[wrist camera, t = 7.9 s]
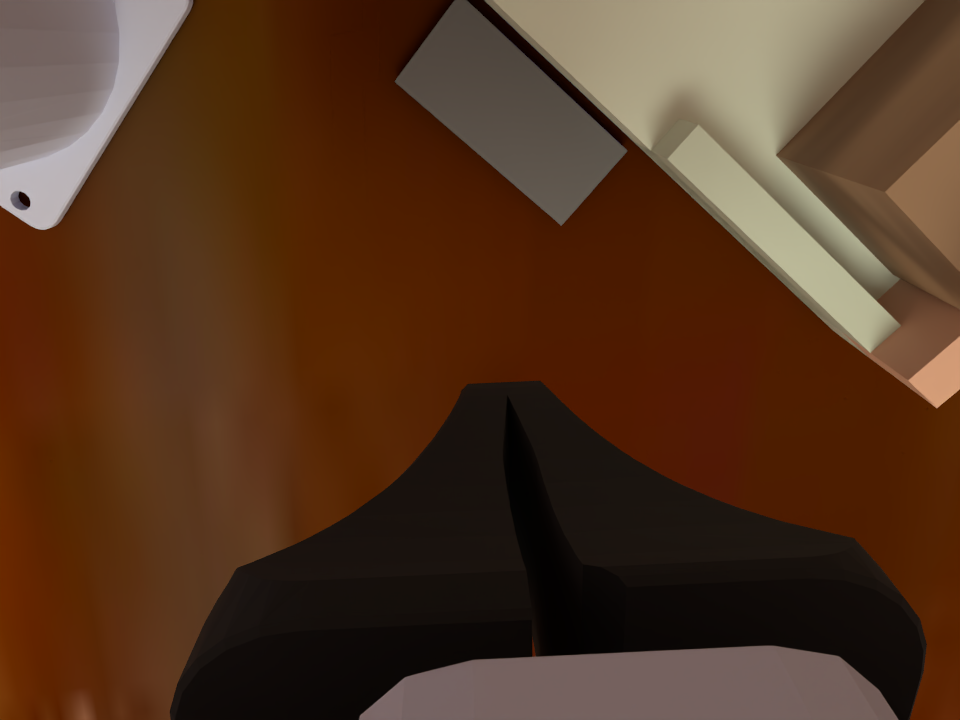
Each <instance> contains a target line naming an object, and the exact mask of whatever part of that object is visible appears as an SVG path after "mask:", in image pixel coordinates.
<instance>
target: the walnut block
mask: <svg viewBox="0 0 960 720" xmlns="http://www.w3.org/2000/svg"><path fill="white" fill-rule="evenodd" d="M776 156H777V157H778V158H779V159H780V160H781V161H782V162H783V163H784V164H785V165H786V166H787V167H788V168H789V169H790V170H791V171H792V172H793V173H794V174H795V175H796V176H797V177H798V178H799V179H800V180H801V181H802V183H803V184H804V185H805V186H806V187H807V188H808V189H809V190H810V191H811V192H812V193H813V194H814V195H815V196H816V197H817V198H818V199H819V200H820V201H821V202H822V203H823V204H824V205H825V206H826V207H827V208H828V209H829V210H830V211H831V212H832V213H833V214H834V215H835V216H836V217H837V218H838V219H839V220H840V221H841V222H842V223H843V224H844V225H845V226H846V227H847V228H848V229H849V230H850V231H851V232H852V233H853V234H854V235H855V236H856V237H857V238H858V240H859V241H860V242H861V243H862V244H863V245H864V246H865V247H866V248H867V249H868V250H869V251H870V252H871V253H872V254H873V255H874V256H875V257H876V258H877V259H878V260H879V261H880V262H881V263H882V264H883V265H884V266H885V267H886V268H887V269H888V270H889V271H890V272H891V273H892V274H893V275H894V276H896V277H898V278H900V279H902V280H904V281H906V282H908V283H910V284H911V285H913V286H915V287H917V288H919V289H921V290H923V291H925V292H927V293H929V294H931V295H933V296H935V297H937V298H938V299H940V300H942V301H944V302H946V303H948V304H950V305H952V306H954V307H956V308H958V309H960V0H925V1H924V2H923V3H922V4H921V5H920V6H919V7H918V8H917V9H916V10H915V11H914V12H913V13H912V15H911V16H910V17H909V18H908V19H907V20H906V21H905V22H904V23H903V24H902V25H901V26H900V27H899V28H898V29H897V30H896V31H895V32H894V33H893V34H892V35H891V36H890V37H889V38H888V39H887V41H886V42H885V43H884V44H883V45H882V46H881V47H880V48H879V49H878V50H877V51H876V52H875V53H874V54H873V55H872V56H871V57H870V58H869V59H868V60H867V61H866V62H865V63H864V64H863V65H862V67H861V68H860V69H859V70H858V71H857V72H856V73H855V74H854V75H853V76H852V77H851V78H850V79H849V80H848V81H847V82H846V83H845V84H844V85H843V86H842V87H841V88H840V89H839V90H838V91H837V92H836V94H835V95H834V96H833V97H832V98H831V99H830V100H829V101H828V102H827V103H826V104H825V105H824V106H823V107H822V108H821V109H820V110H819V111H818V112H817V113H816V114H815V115H814V116H813V117H812V118H811V120H810V121H809V122H808V123H807V124H806V125H805V126H804V127H803V128H802V129H801V130H800V131H799V132H798V133H797V134H796V135H795V136H794V137H793V138H792V139H791V140H790V141H789V142H788V143H787V144H786V146H785V147H784V148H783V149H782V150H781V151H780V152H779V153H778V154H777V155H776Z"/></svg>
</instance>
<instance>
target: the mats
mask: <svg viewBox="0 0 960 720" xmlns="http://www.w3.org/2000/svg"><path fill="white" fill-rule="evenodd" d="M395 83H397V84H398V85H399V86H400V87H401V88H402V89H404V90H405V91H406V92H407V93H408V94H409V95H411V96H412V97H413V98H414V99H415V100H416V101H418V102H419V103H420V104H421V105H422V106H423V107H424V108H426V109H427V110H428V111H429V112H430V113H431V114H433V115H434V116H435V117H436V118H437V119H438V120H440V121H441V122H442V123H443V124H444V125H445V126H446V127H448V128H449V129H450V130H451V131H452V132H453V133H455V134H456V135H457V136H458V137H459V138H460V139H462V140H463V141H464V142H465V143H466V144H467V145H469V146H470V147H471V148H472V149H473V150H474V151H475V152H477V153H478V154H479V155H480V156H481V157H482V158H484V159H485V160H486V161H487V162H488V163H489V164H491V165H492V166H493V167H494V168H495V169H496V170H498V171H499V172H500V173H501V174H502V175H503V176H504V177H506V178H507V179H508V180H509V181H510V182H511V183H513V184H514V185H515V186H516V187H517V188H518V189H520V190H521V191H522V192H523V193H524V194H525V195H526V196H528V197H529V198H530V199H531V200H532V201H533V202H535V203H536V204H537V205H538V206H539V207H540V208H542V209H543V210H544V211H545V212H546V213H547V214H549V215H550V216H551V217H552V218H553V219H554V220H555V221H557V222H558V223H559V224H560V225H561V226H562V224H563V223H564V222H565V221H566V220H567V219H568V218H569V216H570V215H571V214H572V213H573V212H574V211H575V210H576V209H577V207H578V206H579V205H580V204H581V203H582V202H583V201H584V200H585V198H586V197H587V196H588V195H589V194H590V193H591V192H592V190H593V189H594V188H595V187H596V186H597V185H598V184H599V183H600V181H601V180H602V179H603V178H604V177H605V176H606V175H607V174H608V172H609V171H610V170H611V169H612V168H613V167H614V166H615V165H616V163H617V162H618V161H619V160H620V159H621V158H622V157H623V155H624V154H625V153H626V152H627V150H626V149H625V148H624V147H623V146H622V145H621V144H620V143H618V142H617V141H616V140H615V139H614V138H613V137H612V136H611V135H610V134H609V133H608V132H607V131H606V130H605V129H604V128H602V127H601V126H600V125H599V124H598V123H597V122H596V121H595V120H594V119H593V118H592V117H591V116H590V115H589V114H588V113H586V112H585V111H584V110H583V109H582V108H581V107H580V106H579V105H578V104H577V103H576V102H575V101H574V100H573V99H572V98H570V97H569V96H568V95H567V94H566V93H565V92H564V91H563V90H562V89H561V88H560V87H559V86H558V85H557V84H556V83H554V82H553V81H552V80H551V79H550V78H549V77H548V76H547V75H546V74H545V73H544V72H543V71H542V70H541V69H540V68H538V67H537V66H536V65H535V64H534V63H533V62H532V61H531V60H530V59H529V58H528V57H527V56H526V55H525V54H524V53H522V52H521V51H520V50H519V49H518V48H517V47H516V46H515V45H514V44H513V43H512V42H511V41H510V40H509V39H508V38H506V37H505V36H504V35H503V34H502V33H501V32H500V31H499V30H498V29H497V28H496V27H495V26H494V25H493V24H492V23H490V22H489V21H488V20H487V19H486V18H485V17H484V16H483V15H482V14H481V13H480V12H479V11H478V10H477V9H475V8H474V7H473V6H472V5H471V4H470V3H469V2H468V1H467V0H454V2H453V3H452V4H451V6H450V7H449V8H448V10H447V11H446V13H445V14H444V15H443V17H442V18H441V19H440V21H439V22H438V23H437V25H436V26H435V27H434V29H433V30H432V31H431V33H430V34H429V36H428V37H427V38H426V40H425V41H424V42H423V44H422V45H421V46H420V48H419V49H418V50H417V52H416V53H415V54H414V56H413V57H412V59H411V60H410V61H409V63H408V64H407V65H406V67H405V68H404V69H403V71H402V72H401V73H400V75H399V76H398V77H397V79H396V80H395Z"/></svg>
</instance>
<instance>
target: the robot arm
mask: <svg viewBox="0 0 960 720" xmlns="http://www.w3.org/2000/svg"><path fill="white" fill-rule="evenodd" d="M192 5H193V0H0V206H2V207H3V208H5V209H6V210H8V211H9V212H10V213H12V214H13V215H15V216H16V217H18V218H19V219H21V220H22V221H24V222H25V223H27V224H28V225H30V226H32V227H34V228H36V229H42V230H45V229H48V228H51V227H54V226H56V225H57V224H58V223H59V222H60V221H61V220H62V218H63V217H64V215H65V213H66V212H67V210H68V209H69V207H70V205H71V204H72V202H73V200H74V199H75V197H76V196H77V194H78V192H79V191H80V189H81V187H82V186H83V184H84V183H85V181H86V179H87V178H88V176H89V174H90V173H91V171H92V170H93V168H94V166H95V165H96V163H97V161H98V160H99V158H100V157H101V155H102V153H103V152H104V150H105V148H106V147H107V145H108V144H109V142H110V140H111V139H112V137H113V135H114V134H115V132H116V131H117V129H118V127H119V126H120V124H121V123H122V121H123V119H124V118H125V116H126V114H127V113H128V111H129V110H130V108H131V106H132V105H133V103H134V101H135V100H136V98H137V97H138V95H139V93H140V92H141V90H142V88H143V87H144V85H145V84H146V82H147V80H148V79H149V77H150V75H151V74H152V72H153V71H154V69H155V67H156V66H157V64H158V62H159V61H160V59H161V58H162V56H163V54H164V53H165V51H166V49H167V48H168V46H169V45H170V43H171V41H172V40H173V38H174V36H175V35H176V33H177V32H178V30H179V28H180V27H181V25H182V23H183V22H184V20H185V19H186V17H187V15H188V14H189V12H190V10H191V8H192ZM20 191H21V192H23V193H25V194H26V195H27V196H28V197H29V199H30V202H31V204H30V207H27V206H24V205H23V204H22V203H21V202H20V200H19V197H18V195H19V192H20ZM532 637H533V642H534V647H535V653H536V657H532ZM926 645H927V644H926V640H925V637H924V633H923V629H922V625H921V621H920V618H919V617H918V616H917V614H916V613H915V612H914V610H913V609H912V608H911V606H910V605H909V604H908V602H907V601H906V600H905V598H904V597H903V596H902V595H901V593H900V592H899V591H898V589H897V588H896V587H895V586H894V584H893V583H892V582H891V580H890V579H889V578H888V577H887V575H886V574H885V573H884V571H883V570H882V569H881V568H880V567H879V565H878V564H877V563H876V562H875V561H874V560H873V559H872V558H871V556H870V555H869V554H868V553H867V552H866V551H865V550H864V548H863V547H862V546H861V545H860V544H859V543H858V542H857V541H856V540H855V539H854V538H850V537H846V536H842V535H837V534H833V533H829V532H825V531H820V530H816V529H812V528H807V527H803V526H799V525H795V524H790V523H786V522H782V521H779V520H775V519H772V518H769V517H766V516H762V515H759V514H756V513H753V512H750V511H747V510H744V509H740V508H737V507H735V506H732V505H729V504H727V503H724V502H721V501H719V500H716V499H713V498H711V497H709V496H706V495H704V494H702V493H699V492H697V491H695V490H692V489H690V488H688V487H686V486H683V485H681V484H679V483H677V482H675V481H673V480H671V479H669V478H667V477H665V476H663V475H661V474H659V473H658V472H656V471H654V470H652V469H651V468H649V467H647V466H645V465H644V464H642V463H640V462H638V461H636V460H635V459H633V458H632V457H630V456H629V455H627V454H625V453H624V452H622V451H621V450H620V449H618V448H617V447H615V446H614V445H613V444H611V443H610V442H609V441H607V440H606V439H604V438H603V437H602V436H600V435H599V434H598V433H596V432H595V431H594V430H593V429H591V428H590V427H589V426H588V425H587V424H585V423H584V422H583V421H582V420H581V419H580V418H578V417H577V416H576V415H575V414H574V413H573V412H572V411H571V410H570V409H569V408H568V407H567V406H565V405H564V404H563V403H562V402H561V401H560V400H559V399H558V398H557V397H556V396H555V395H554V394H553V393H552V392H551V391H550V390H549V389H548V388H547V387H546V386H545V385H544V384H543V383H542V382H541V381H525V382H503V383H480V384H468V385H467V386H466V387H465V388H464V389H463V390H462V391H461V394H460V396H459V399H458V401H457V403H456V404H455V406H454V408H453V410H452V411H451V413H450V415H449V416H448V418H447V419H446V421H445V422H444V424H443V425H442V427H441V428H440V430H439V431H438V433H437V434H436V436H435V437H434V438H433V440H432V441H431V442H430V443H429V444H428V446H427V447H426V448H425V449H424V450H423V452H422V453H421V454H420V455H419V456H418V458H417V459H416V460H415V461H414V462H413V463H412V465H411V466H410V467H409V468H408V469H407V470H406V471H405V472H404V473H403V474H402V475H401V476H400V477H399V478H398V479H397V480H396V481H394V482H393V483H392V484H391V485H390V486H389V487H388V488H386V489H385V490H384V491H382V492H381V493H380V494H378V495H377V496H376V497H374V498H373V499H371V500H370V501H369V502H367V503H366V504H364V505H363V506H362V507H360V508H359V509H357V510H356V511H355V512H353V513H352V514H350V515H349V516H347V517H345V518H344V519H342V520H340V521H339V522H337V523H335V524H333V525H332V526H330V527H328V528H326V529H325V530H323V531H321V532H319V533H317V534H315V535H313V536H311V537H309V538H307V539H305V540H303V541H301V542H299V543H297V544H295V545H293V546H290V547H288V548H285V549H283V550H281V551H278V552H276V553H273V554H271V555H269V556H266V557H264V558H261V559H259V560H257V561H254V562H252V563H249V564H246V565H244V566H241V567H238V568H237V569H236V570H235V572H234V574H233V576H232V577H231V579H230V581H229V583H228V584H227V586H226V588H225V589H224V591H223V592H222V594H221V595H220V597H219V598H218V600H217V602H216V603H215V605H214V607H213V609H212V611H211V612H210V614H209V616H208V618H207V620H206V622H205V623H204V626H203V628H202V630H201V632H200V634H199V637H198V639H197V641H196V643H195V646H194V648H193V650H192V652H191V655H190V657H189V659H188V661H187V664H186V666H185V668H184V670H183V673H182V675H181V677H180V679H179V682H178V684H177V687H176V691H175V695H174V698H173V702H172V705H171V709H170V717H171V720H909V719H910V716H911V713H912V709H913V706H914V702H915V699H916V695H917V692H918V689H919V685H920V682H921V678H922V675H923V671H924V663H925V654H926Z"/></svg>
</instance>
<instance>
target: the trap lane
mask: <svg viewBox="0 0 960 720" xmlns="http://www.w3.org/2000/svg"><path fill="white" fill-rule="evenodd" d="M484 1H485V2H486V3H487V4H488V5H489V6H490V7H492V8H493V9H494V10H495V11H496V12H497V13H498V14H499V15H500V16H501V17H502V18H503V19H504V20H505V21H506V22H507V23H508V24H509V25H511V26H512V27H513V28H514V29H515V30H516V31H517V32H518V33H519V34H520V35H521V36H522V37H523V38H524V39H525V40H526V41H527V42H529V43H530V44H531V45H532V46H533V47H534V48H535V49H536V50H537V51H538V52H539V53H540V54H541V55H542V56H543V57H544V58H545V59H547V60H548V61H549V62H550V63H551V64H552V65H553V66H554V67H555V68H556V69H557V70H558V71H559V72H560V73H561V74H562V75H563V76H564V77H566V78H567V79H568V80H569V81H570V82H571V83H572V84H573V85H574V86H575V87H576V88H577V89H578V90H579V91H580V92H581V93H582V94H584V95H585V96H586V97H587V98H588V99H589V100H590V101H591V102H592V103H593V104H594V105H595V106H596V107H597V108H598V109H599V110H600V111H602V112H603V113H604V114H605V115H606V116H607V117H608V118H609V119H610V120H611V121H612V122H613V123H614V124H615V125H616V126H617V127H618V128H619V129H621V130H622V131H623V132H624V133H625V134H626V135H627V136H628V137H629V138H630V139H631V140H632V141H633V142H634V143H635V144H636V145H637V146H639V147H640V148H641V149H642V150H643V151H644V152H645V153H646V154H647V155H648V156H649V157H650V158H651V159H652V160H653V161H654V162H655V163H657V164H658V165H659V166H660V167H661V168H662V169H663V170H664V171H665V172H666V173H667V174H668V175H669V176H670V177H671V178H672V179H673V180H674V181H676V182H677V183H678V184H679V185H680V186H681V187H682V188H683V189H684V190H685V191H686V192H687V193H688V194H689V195H690V196H691V197H692V198H694V199H695V200H696V201H697V202H698V203H699V204H700V205H701V206H702V207H703V208H704V209H705V210H706V211H707V212H708V213H709V214H710V215H712V216H713V217H714V218H715V219H716V220H717V221H718V222H719V223H720V224H721V225H722V226H723V227H724V228H725V229H726V230H727V231H728V232H729V233H731V234H732V235H733V236H734V237H735V238H736V239H737V240H738V241H739V242H740V243H741V244H742V245H743V246H744V247H745V248H746V249H747V250H749V251H750V252H751V253H752V254H753V255H754V256H755V257H756V258H757V259H758V260H759V261H760V262H761V263H762V264H763V265H764V266H765V267H767V268H768V269H769V270H770V271H771V272H772V273H773V274H774V275H775V276H776V277H777V278H778V279H779V280H780V281H781V282H782V283H783V284H784V285H786V286H787V287H788V288H789V289H790V290H791V291H792V292H793V293H794V294H795V295H796V296H797V297H798V298H799V299H800V300H801V301H802V302H804V303H805V304H806V305H807V306H808V307H809V308H810V309H811V310H812V311H813V312H814V313H815V314H816V315H817V316H818V317H819V318H820V319H822V320H823V321H824V322H825V323H826V324H827V325H828V326H829V327H830V328H831V329H832V330H833V331H834V332H836V333H837V334H838V335H840V336H841V337H842V338H844V339H845V340H846V341H848V342H849V343H850V344H852V345H853V346H854V347H856V348H857V349H858V350H860V351H861V352H862V353H864V354H865V355H866V356H868V357H869V358H870V359H872V360H873V361H874V362H876V363H877V364H878V365H880V366H881V367H882V368H884V369H885V370H886V371H888V372H889V373H890V374H892V375H893V376H894V377H896V378H897V379H898V380H900V381H901V382H902V383H904V384H905V385H907V386H908V387H909V388H911V389H912V390H913V391H915V392H916V393H917V394H919V395H920V396H921V397H923V398H924V399H925V400H927V401H928V402H929V403H931V404H932V405H933V406H935V407H936V408H938V407H939V406H940V405H941V404H942V403H944V402H945V401H946V400H947V399H948V398H950V397H951V396H952V395H953V394H954V393H956V392H957V391H958V390H959V389H960V309H958V308H956V307H954V306H952V305H950V304H948V303H946V302H944V301H942V300H940V299H938V298H937V297H935V296H933V295H931V294H929V293H927V292H925V291H923V290H921V289H919V288H917V287H915V286H913V285H911V284H910V283H908V282H906V281H904V280H902V279H900V278H898V277H896V276H894V275H893V274H892V273H891V272H890V271H889V270H888V269H887V268H886V267H885V266H884V265H883V264H882V263H881V262H880V261H879V260H878V259H877V258H876V257H875V256H874V255H873V254H872V253H871V252H870V251H869V250H868V249H867V248H866V247H865V246H864V245H863V244H862V243H861V242H860V241H859V240H858V238H857V237H856V236H855V235H854V234H853V233H852V232H851V231H850V230H849V229H848V228H847V227H846V226H845V225H844V224H843V223H842V222H841V221H840V220H839V219H838V218H837V217H836V216H835V215H834V214H833V213H832V212H831V211H830V210H829V209H828V208H827V207H826V206H825V205H824V204H823V203H822V202H821V201H820V200H819V199H818V198H817V197H816V196H815V195H814V194H813V193H812V192H811V191H810V190H809V189H808V188H807V187H806V186H805V185H804V184H803V183H802V181H801V180H800V179H799V178H798V177H797V176H796V175H795V174H794V173H793V172H792V171H791V170H790V169H789V168H788V167H787V166H786V165H785V164H784V163H783V162H782V161H781V160H780V159H779V158H778V157H777V156H776V155H777V154H778V153H779V152H780V151H781V150H782V149H783V148H784V147H785V146H786V144H787V143H788V142H789V141H790V140H791V139H792V138H793V137H794V136H795V135H796V134H797V133H798V132H799V131H800V130H801V129H802V128H803V127H804V126H805V125H806V124H807V123H808V122H809V121H810V120H811V118H812V117H813V116H814V115H815V114H816V113H817V112H818V111H819V110H820V109H821V108H822V107H823V106H824V105H825V104H826V103H827V102H828V101H829V100H830V99H831V98H832V97H833V96H834V95H835V94H836V92H837V91H838V90H839V89H840V88H841V87H842V86H843V85H844V84H845V83H846V82H847V81H848V80H849V79H850V78H851V77H852V76H853V75H854V74H855V73H856V72H857V71H858V70H859V69H860V68H861V67H862V65H863V64H864V63H865V62H866V61H867V60H868V59H869V58H870V57H871V56H872V55H873V54H874V53H875V52H876V51H877V50H878V49H879V48H880V47H881V46H882V45H883V44H884V43H885V42H886V41H887V39H888V38H889V37H890V36H891V35H892V34H893V33H894V32H895V31H896V30H897V29H898V28H899V27H900V26H901V25H902V24H903V23H904V22H905V21H906V20H907V19H908V18H909V17H910V16H911V15H912V13H913V12H914V11H915V10H916V9H917V8H918V7H919V6H920V5H921V4H922V3H923V2H924V1H925V0H484Z"/></svg>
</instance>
